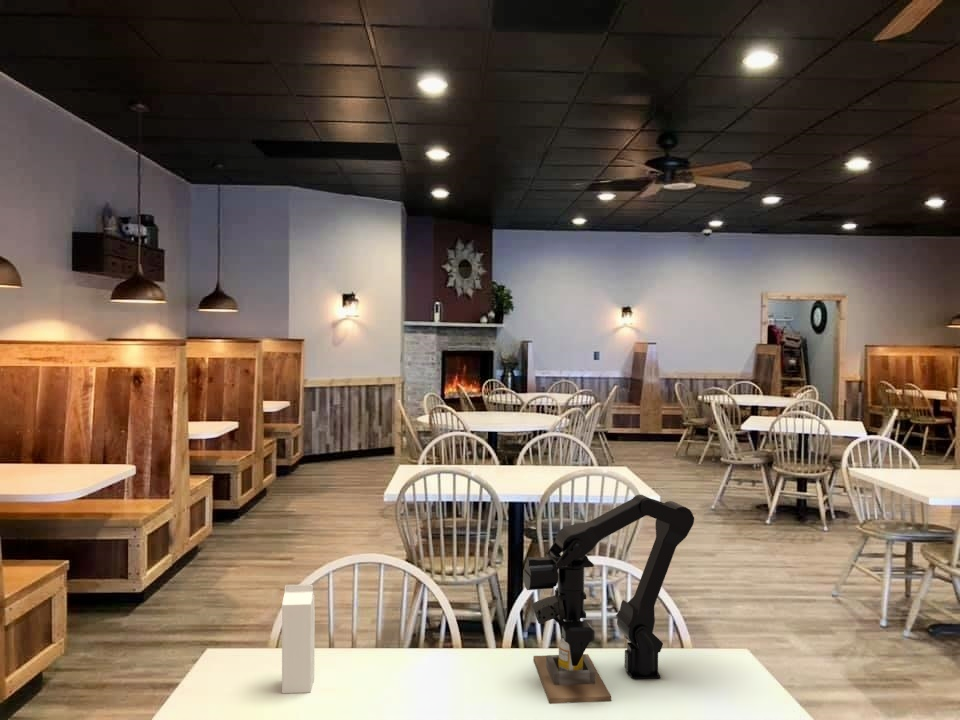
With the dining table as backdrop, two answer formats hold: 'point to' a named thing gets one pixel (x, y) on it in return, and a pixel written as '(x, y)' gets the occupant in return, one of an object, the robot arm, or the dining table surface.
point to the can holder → (570, 681)
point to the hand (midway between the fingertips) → (570, 656)
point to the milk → (298, 638)
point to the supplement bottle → (567, 658)
